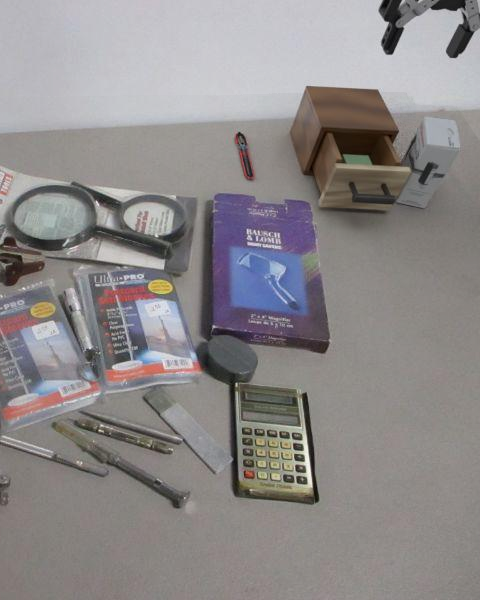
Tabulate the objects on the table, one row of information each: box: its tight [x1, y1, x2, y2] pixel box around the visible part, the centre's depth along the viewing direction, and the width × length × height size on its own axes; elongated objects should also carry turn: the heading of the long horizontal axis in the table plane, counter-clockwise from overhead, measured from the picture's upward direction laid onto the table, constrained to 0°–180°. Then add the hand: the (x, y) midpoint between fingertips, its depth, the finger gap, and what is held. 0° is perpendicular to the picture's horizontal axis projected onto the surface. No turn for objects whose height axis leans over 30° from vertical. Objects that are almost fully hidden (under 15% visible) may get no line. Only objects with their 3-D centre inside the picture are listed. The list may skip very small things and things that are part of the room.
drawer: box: [311, 131, 411, 211], centre depth 96 cm, size 16×11×8 cm
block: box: [341, 154, 372, 165], centre depth 97 cm, size 4×4×4 cm
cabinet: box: [289, 85, 400, 176], centre depth 104 cm, size 13×13×10 cm
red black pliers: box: [234, 131, 255, 180], centre depth 106 cm, size 2×14×1 cm, turn 178°
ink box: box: [395, 115, 462, 209], centre depth 97 cm, size 8×5×12 cm, turn 162°
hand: (418, 53), depth 79 cm, fingers open, 8 cm apart
